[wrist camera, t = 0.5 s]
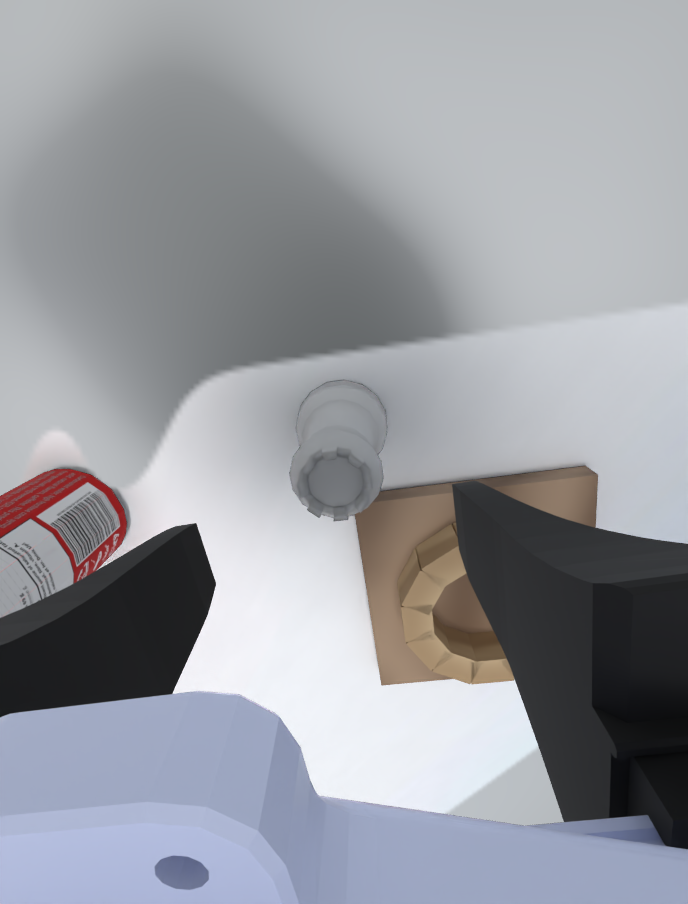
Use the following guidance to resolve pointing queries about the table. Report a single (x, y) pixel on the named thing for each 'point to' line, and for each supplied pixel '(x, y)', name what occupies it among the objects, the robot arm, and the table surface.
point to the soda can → (55, 535)
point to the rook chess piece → (339, 450)
